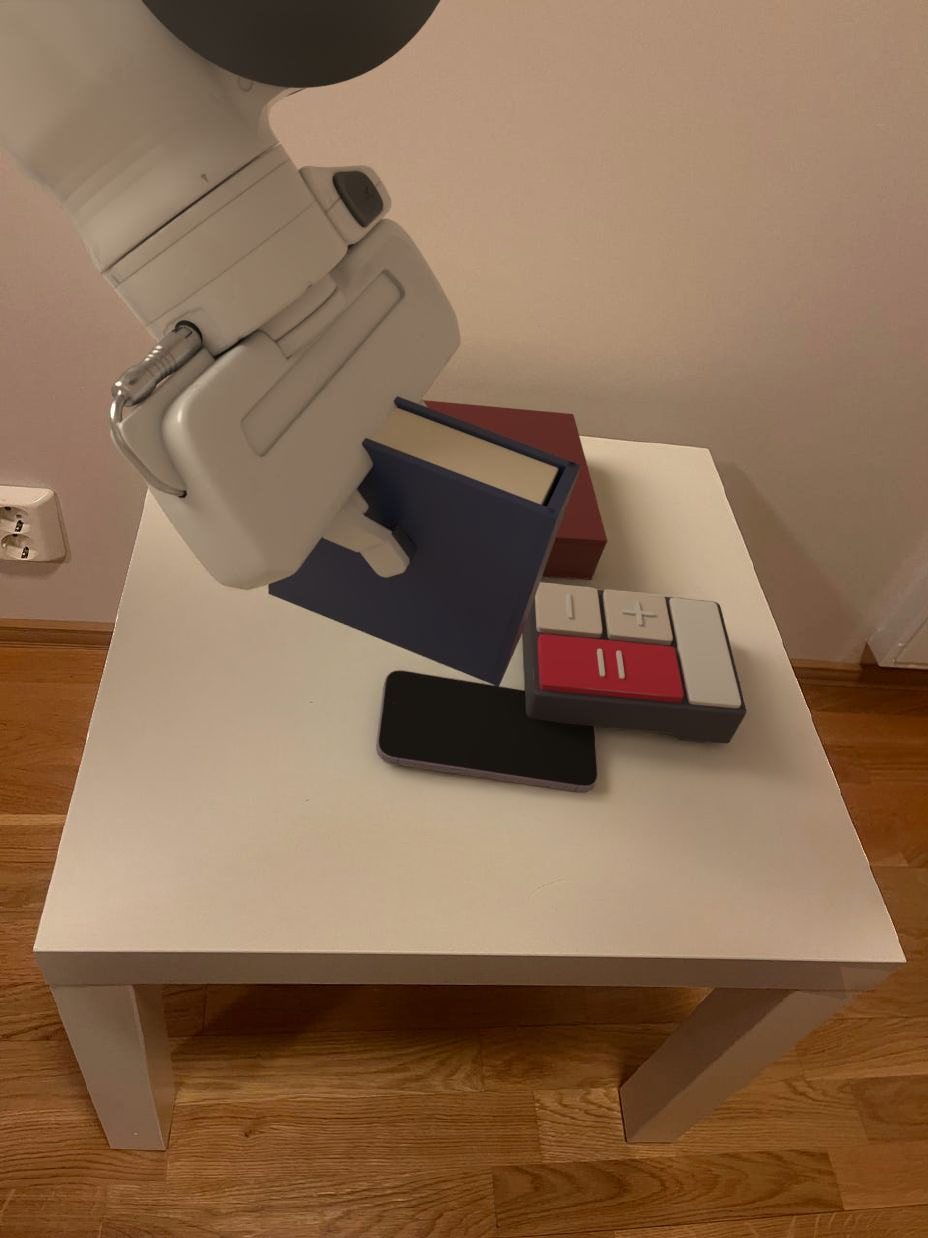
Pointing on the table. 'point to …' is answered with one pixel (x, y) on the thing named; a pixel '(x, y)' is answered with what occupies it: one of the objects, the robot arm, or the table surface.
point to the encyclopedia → (560, 437)
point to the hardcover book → (445, 542)
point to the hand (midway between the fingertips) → (422, 529)
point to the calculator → (631, 663)
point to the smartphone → (480, 733)
